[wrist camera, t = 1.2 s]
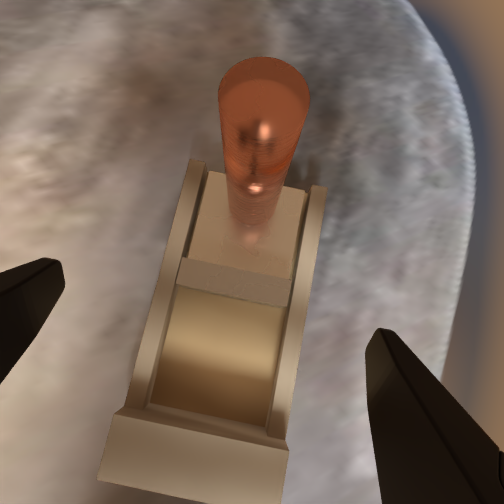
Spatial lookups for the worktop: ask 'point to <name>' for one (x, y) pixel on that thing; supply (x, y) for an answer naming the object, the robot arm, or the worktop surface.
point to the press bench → (213, 377)
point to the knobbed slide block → (251, 188)
